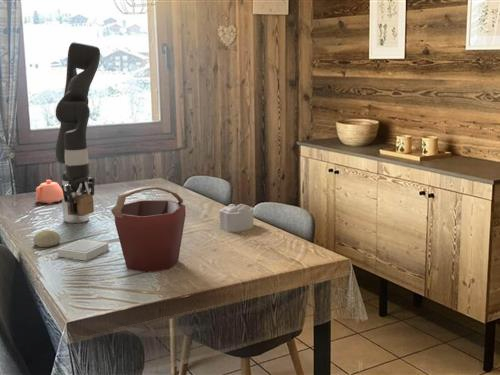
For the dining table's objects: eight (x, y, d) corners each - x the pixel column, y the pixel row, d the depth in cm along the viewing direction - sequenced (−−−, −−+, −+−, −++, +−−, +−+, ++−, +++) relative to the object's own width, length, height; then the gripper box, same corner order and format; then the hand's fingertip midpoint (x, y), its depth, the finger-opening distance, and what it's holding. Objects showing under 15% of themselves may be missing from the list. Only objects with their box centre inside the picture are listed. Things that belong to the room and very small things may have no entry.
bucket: (119, 280, 183) (114, 199, 177) (105, 258, 203) (100, 185, 197) (197, 267, 192) (194, 190, 187) (176, 248, 212) (173, 177, 207)
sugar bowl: (69, 200, 285) (68, 179, 283) (45, 206, 273) (43, 184, 271) (52, 197, 291) (50, 176, 289) (27, 203, 280) (25, 182, 277)
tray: (57, 256, 205) (57, 248, 205) (81, 245, 216) (80, 238, 216) (86, 260, 201) (85, 252, 200) (108, 249, 211) (108, 242, 211)
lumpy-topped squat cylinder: (216, 227, 237) (216, 205, 236) (244, 221, 244) (244, 200, 242) (230, 233, 229) (230, 210, 227) (259, 227, 236) (259, 205, 234)
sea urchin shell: (36, 245, 212) (32, 225, 215) (35, 256, 218) (31, 237, 221) (62, 241, 216) (58, 222, 219) (61, 252, 222) (57, 233, 225)
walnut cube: (68, 214, 204) (66, 197, 203) (79, 210, 209) (78, 193, 208) (82, 216, 202) (81, 198, 200) (93, 211, 207) (92, 194, 206)
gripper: (82, 158, 210) (85, 205, 213) (53, 165, 197) (57, 215, 200) (99, 159, 207) (103, 207, 210) (71, 166, 194) (75, 217, 197)
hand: (80, 211), depth 205 cm, fingers closed on walnut cube, 6 cm apart
